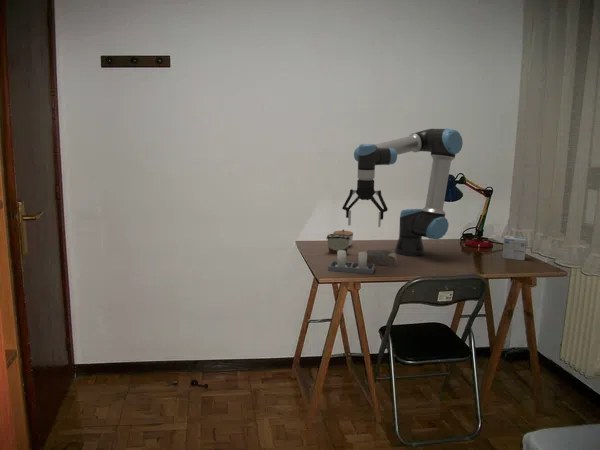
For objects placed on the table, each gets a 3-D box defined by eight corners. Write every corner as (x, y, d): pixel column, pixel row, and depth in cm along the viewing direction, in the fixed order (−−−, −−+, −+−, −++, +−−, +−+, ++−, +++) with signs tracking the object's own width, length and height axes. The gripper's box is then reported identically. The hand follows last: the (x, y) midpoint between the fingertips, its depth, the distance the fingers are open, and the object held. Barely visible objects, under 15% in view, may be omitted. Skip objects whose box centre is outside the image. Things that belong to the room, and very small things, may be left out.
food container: (349, 252, 266) (350, 233, 264) (349, 255, 259) (350, 236, 258) (326, 251, 267) (326, 232, 265) (325, 254, 261) (326, 235, 259)
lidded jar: (353, 248, 273) (354, 231, 271) (333, 248, 273) (334, 231, 271) (351, 244, 284) (352, 227, 282) (332, 243, 284) (333, 227, 282)
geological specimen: (364, 249, 252) (395, 248, 251) (365, 261, 253) (395, 260, 252) (366, 254, 241) (398, 253, 241) (366, 267, 242) (398, 266, 242)
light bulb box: (524, 257, 260) (527, 237, 258) (524, 260, 254) (526, 240, 252) (502, 255, 264) (504, 235, 262) (501, 258, 258) (503, 237, 256)
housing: (374, 268, 237) (375, 251, 235) (372, 274, 227) (373, 256, 226) (331, 264, 241) (332, 248, 240) (328, 270, 232) (328, 252, 230)
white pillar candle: (369, 268, 235) (369, 251, 234) (367, 271, 230) (368, 254, 228) (357, 267, 236) (357, 250, 235) (355, 270, 231) (355, 253, 230)
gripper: (394, 179, 226) (392, 225, 231) (339, 177, 232) (338, 222, 236) (393, 181, 219) (391, 228, 224) (336, 179, 225) (335, 225, 229)
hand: (364, 225), depth 230 cm, fingers open, 13 cm apart
